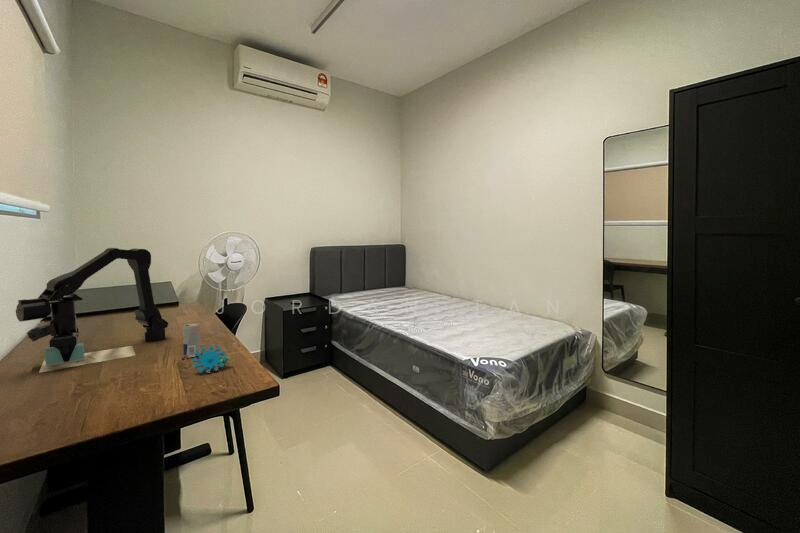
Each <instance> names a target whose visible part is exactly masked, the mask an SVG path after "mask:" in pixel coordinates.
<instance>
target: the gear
mask: <svg viewBox="0 0 800 533" xmlns="http://www.w3.org/2000/svg"><path fill="white" fill-rule="evenodd" d="M206 349H207V348H206V347H202V348H201V347H200V352H199V351H198V352H196V353H195V356H198V357H195V358H192V360H191V361H192V363H194V364H193V369H198V371H197V372H198V373H199V374H202V373H203V372H204V371H205V370H206V369H207V370H206V371H205V373H206V372H208V371H211V370H212V369H213V368H214V369H213V371H214V370H215V369H218V370H219V368H221V367H222V368H223V367H225V365H226V364H227V362H228V361H230V359H231V357H230V355H227V356H225V355H226V353H225V352H226V351H225V350H223V351H221V348H220V347H219V346H218V347H216V349H214V346H213V345H209V347H208V351H206ZM213 349H214V350H213ZM212 350H213V351H212ZM220 351H221V352H220ZM201 352H202V354H201ZM197 358H199V359H197ZM197 363H199V364H197ZM225 363H226V364H225ZM224 364H225V365H224ZM218 365H219V368H218ZM199 367H200V368H199ZM201 367H202V368H201Z"/></svg>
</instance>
